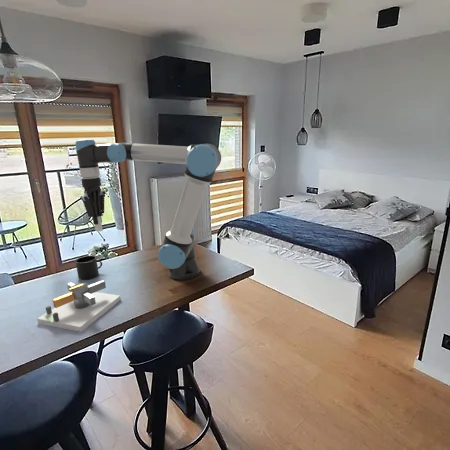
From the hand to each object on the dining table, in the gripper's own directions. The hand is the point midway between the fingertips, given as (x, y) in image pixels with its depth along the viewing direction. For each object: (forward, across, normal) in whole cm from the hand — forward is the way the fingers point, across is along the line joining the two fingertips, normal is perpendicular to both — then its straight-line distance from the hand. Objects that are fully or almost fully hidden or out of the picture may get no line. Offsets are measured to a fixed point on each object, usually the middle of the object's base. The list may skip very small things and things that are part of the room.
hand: (99, 230), depth 140 cm
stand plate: (+26, +22, +5) cm, 35 cm away
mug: (+27, -7, -15) cm, 31 cm away
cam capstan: (+24, +21, +5) cm, 32 cm away
